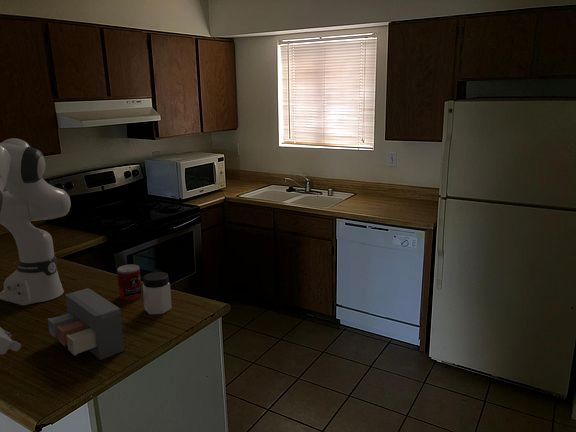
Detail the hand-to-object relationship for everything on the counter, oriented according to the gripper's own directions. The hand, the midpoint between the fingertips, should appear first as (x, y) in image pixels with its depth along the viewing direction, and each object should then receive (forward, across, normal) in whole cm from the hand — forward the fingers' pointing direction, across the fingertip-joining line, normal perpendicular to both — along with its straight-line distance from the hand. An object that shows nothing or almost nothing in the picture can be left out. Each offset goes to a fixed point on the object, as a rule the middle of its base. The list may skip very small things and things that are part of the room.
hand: (14, 342), depth 120 cm
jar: (+42, +14, -25) cm, 51 cm away
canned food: (+41, +31, -24) cm, 56 cm away
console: (+24, +7, -8) cm, 26 cm away
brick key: (+18, +7, -6) cm, 20 cm away
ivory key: (+18, 0, -6) cm, 19 cm away
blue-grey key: (+18, +14, -6) cm, 23 cm away
